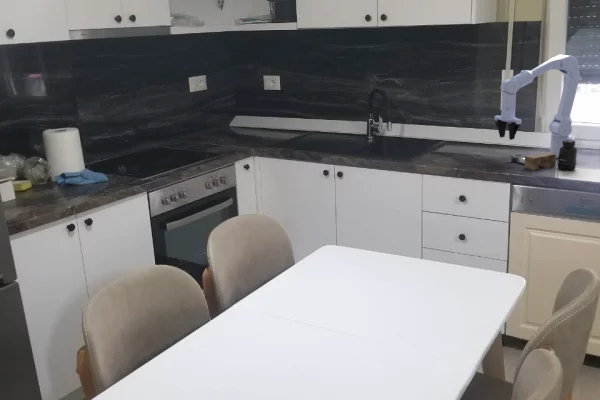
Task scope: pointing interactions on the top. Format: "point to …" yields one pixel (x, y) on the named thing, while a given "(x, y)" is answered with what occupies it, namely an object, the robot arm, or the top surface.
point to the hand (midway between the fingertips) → (506, 138)
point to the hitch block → (540, 160)
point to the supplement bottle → (567, 156)
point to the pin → (516, 158)
